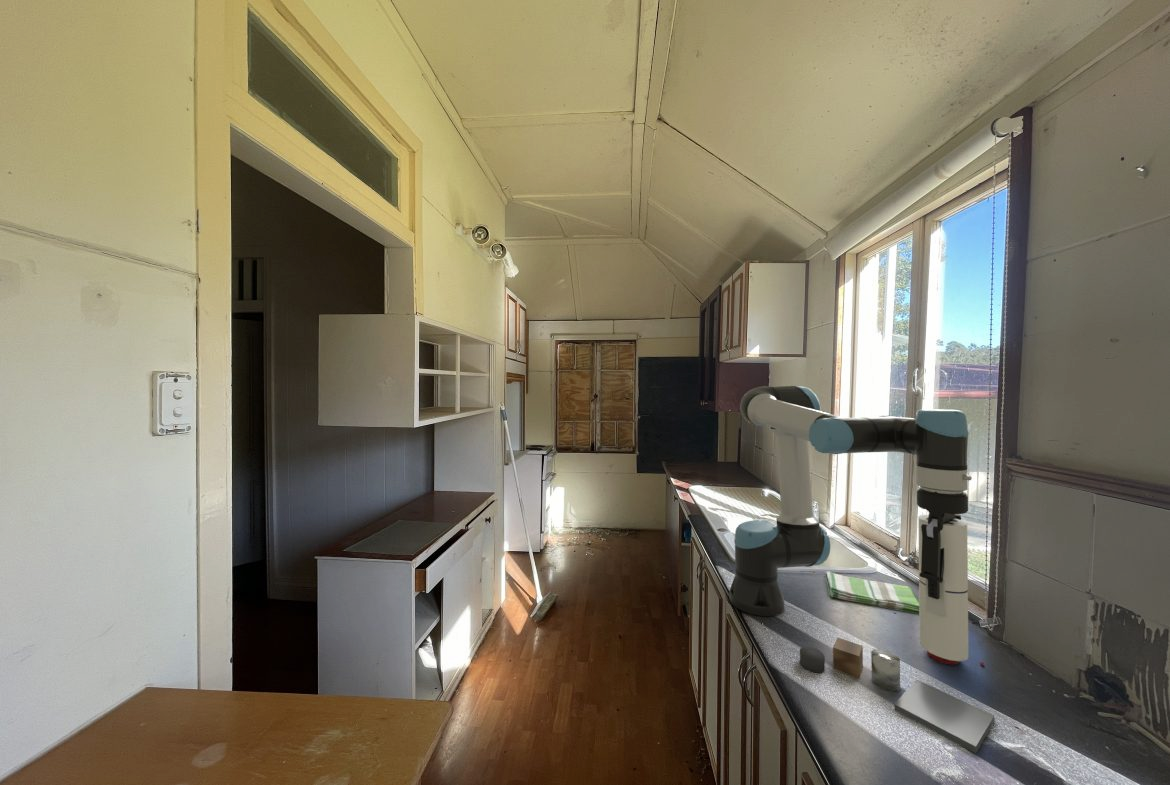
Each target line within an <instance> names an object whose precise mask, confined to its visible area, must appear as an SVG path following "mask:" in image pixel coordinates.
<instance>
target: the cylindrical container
mask: <svg viewBox="0 0 1170 785" xmlns="http://www.w3.org/2000/svg"><path fill="white" fill-rule="evenodd" d="M928 517H929V514H922V515H921V514H920V515H918V517H917V518H918V519H917V520H918V602H919V614H918V615H919V618H918V620H919V645H920V647H922V648H923V649H924V650H925V651H926V652H927V651H928V652H930V653H932V654H934V655H936V656H938V657H941V658H944V659H948V660H953V661H959V662H963V661H967V660H968V659H969V590H968V589H969V582H968V581H969V580H968V579H969V577H968V576H969V574H968V571H969V570H968V569H969V568H968V567H969V565H968V564H969V563H968V558H969V557H968V555H969V554H968V523H967V522H966V521H963V520H962V519H961V520H959V519H956V518H955V519H953V520H957V522H954V521H949V522H950V523H953V524H948V523H947V524H944V525H943V529H942V530H941V531H940V532H941V549H942V548H944V573H943V581H945V617H941V616H938V615H935V614H932V613H929V612H926V578H923V577H920V573H921V560H922V528H921V526H922V524H925V525H928V519H927V518H928Z"/></svg>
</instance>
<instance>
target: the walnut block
mask: <svg viewBox="0 0 1170 785" xmlns="http://www.w3.org/2000/svg"><path fill="white" fill-rule="evenodd" d="M863 652H864V646H863V644H859V643H856V642H852V641H850V640H846V639H843V638H840V637H838V636H837V637H836V640H835V642H834V644H833V647H832V662H833V663H832V664H833V665H832V668H833V670H835V671H838V672H840V673H843V674H846V675H849V676H851V677H853V678H856V679H861V678H860V677H861V675H862V671H863V668H864V662H863V661H864V653H863Z"/></svg>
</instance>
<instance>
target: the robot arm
mask: <svg viewBox="0 0 1170 785" xmlns="http://www.w3.org/2000/svg"><path fill="white" fill-rule="evenodd" d="M821 408H822V407H821V404H820V400H819V398H818V396H817V395H816V393H815V392H813V390H812V389H811V388H809V387H806V386H797V385H789V386H787V385H786V386H784V385H783V386H782V385H781V386H780V385H779V386H757V387H754V388H752V389H750V390H748V391H747V392H746V393H745V394H744V395H743V396H742V398H741V400H740V403H739V410H740V413H741V415H742V417H743V418H744V420H746V422H747V421H748V422H749V423H751V424H753V425H756V426H758V427H770V431H771V432H773V433H774V434H775V436H776V449H777V464H778V479H779V480H778V481H779V483H778V484H779V494H780V495H779V496H780V497H779V498H780V511H781V512H780V513H779V515H778V516H777V517H776V520H775V521H776V524H774V522H771V521H767V520H758V519H757V520H748V521H745V522H741V523H740V524H738V526H737V527H736V529H735V534H734V541H733V542H734V557H735V558H734V563H735V564H734V566H735V575H734V576H733V580H732V583H731V586H730V589H729V601H730V602H729V603H731V605H732V606H734V607H735V608H736V609H738V610H740V611H742V612H745V613H747V614H750V615H754V616H759V617H760V616H761V617H774V616H777V615H780V614H782V613H783V612H784V611H785V598H784V595H783V593H782V589H781V586H780V583H779V581H778V580H779V579H778V577H779V576H778V573H779V572H778V569H784V568H799V567H807V568H811V567H813V566H819V565H822V564H824V563H825V562H826V561H827V560H828V558H829V556H830V552H831V540H830V537H829V535H827V534H828V532H827V530H826V529H825V528H824V527H823V526H822V525H820V521H819V519H818V518H816V517H815V516H814V511H813V510H814V508H813V497H812V484H811V483H812V481H811V467H810V456H809V455H810V453H809V443H810V444H811V446H812V447H814V450H816V451H817V452H818V453H821V454H832V455H840V454H841V455H842V454H852V453H853V454H859V453H862V454H863V453H893V452H895V453H903V454H909V455H910V454H911V455H915V456H916V467H915V468H916V470H915V471H916V473H915V478H916V479H915V483H916V485H917V486H918V488H917V489H916V505H917V507H918V508H921V509H923V510H926V511H927V512H928V515H929V517H928V518H927V519H928V525H925V524H922V526H921V528H922V560H921V573H920V577H923V578H926V612H929V613H932V614H935V615H938V616H941V617H945V581H943V573H944V548H942V549H941V532H940V531H941V530H942V529H943V525H944V524H947V523H948V524H953V523H950V522H949V521H954V522H957V520H953V519H955V518H956V519H959V520H962V517H961V515H965V514H967V513H968V511H969V495H968V494H967V493H966V491H967V490H968V489H969V488H968V486H969V485H968V484H969V482H968V481H971V480H972V476H971V475H969V474H968V445H969V444H968V440H969V431H968V423H967V422H968V421H967V415H966V414H965V413H964V412H963V411H962V410H958V409H941V408H940V409H938V408H937V409H934V408H932V409H924V408H923V409H919V410H917V412H916V415H915V417H914V418H912V417H904V416H903V417H901V416H894V415H878V416H877V415H874V416H871V417H869V416H868V417H844V416H839V415H836V414H833V413H829V412H828V413H827V412H823V411H821Z"/></svg>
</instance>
